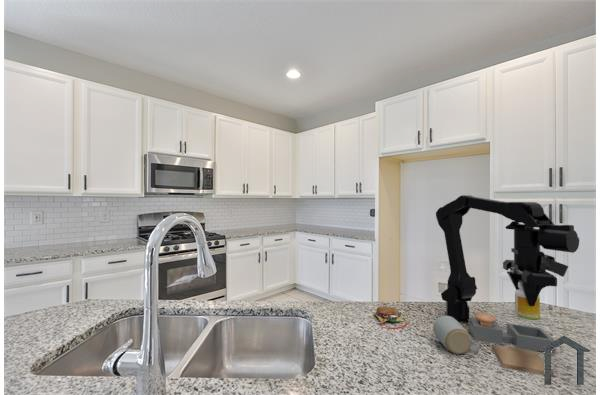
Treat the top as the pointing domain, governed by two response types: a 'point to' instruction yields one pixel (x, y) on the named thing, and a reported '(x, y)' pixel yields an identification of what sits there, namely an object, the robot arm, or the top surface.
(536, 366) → the walnut pad
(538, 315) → the supplement bottle
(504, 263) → the robot arm
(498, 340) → the divided tray
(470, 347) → the grey cylindrical canister
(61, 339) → the top surface
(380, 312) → the hamburger
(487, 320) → the tan stopper
